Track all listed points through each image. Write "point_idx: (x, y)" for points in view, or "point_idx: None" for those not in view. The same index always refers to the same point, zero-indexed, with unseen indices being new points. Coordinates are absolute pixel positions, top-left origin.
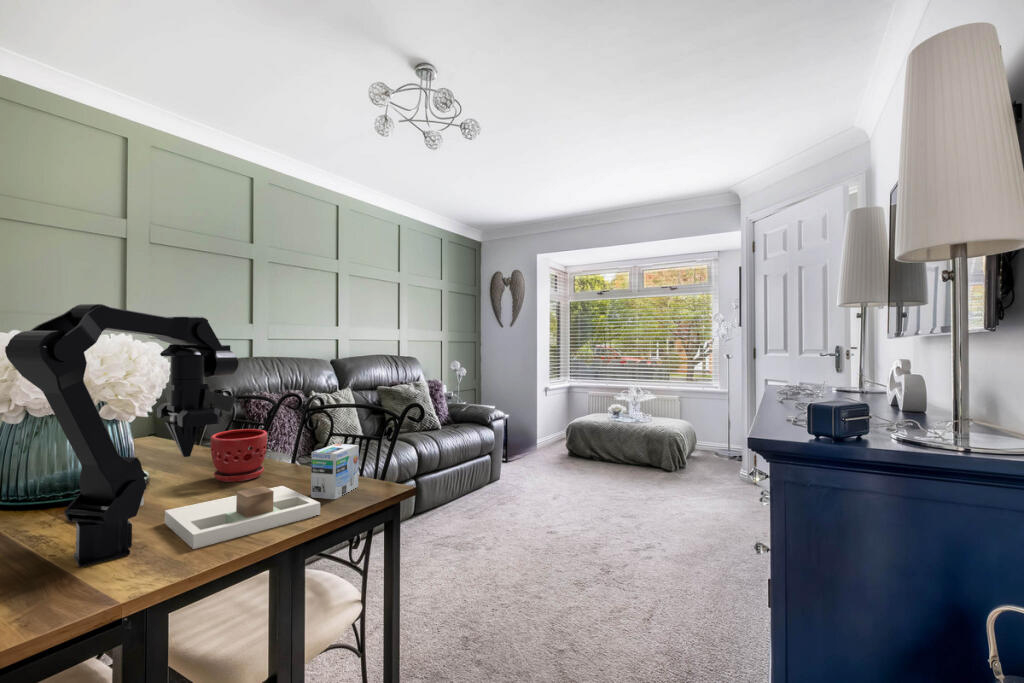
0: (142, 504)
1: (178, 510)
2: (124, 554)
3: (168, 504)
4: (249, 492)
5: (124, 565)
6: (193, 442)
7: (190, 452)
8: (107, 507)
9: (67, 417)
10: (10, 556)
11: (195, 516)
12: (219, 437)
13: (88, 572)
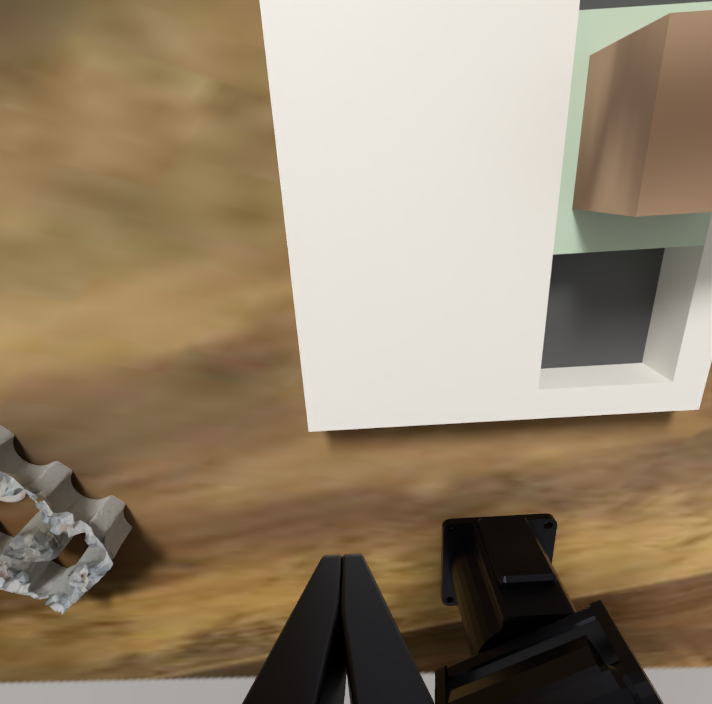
0: (2, 429)
1: (349, 394)
2: (556, 528)
3: (49, 354)
4: None
5: (611, 526)
6: (427, 689)
7: (373, 583)
8: (109, 555)
9: None
10: None
11: (487, 361)
12: None
13: (582, 580)
